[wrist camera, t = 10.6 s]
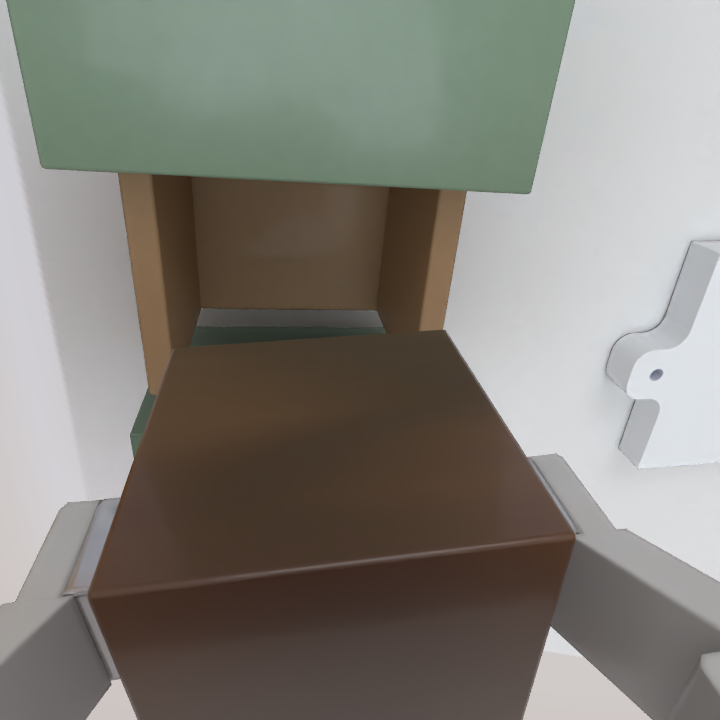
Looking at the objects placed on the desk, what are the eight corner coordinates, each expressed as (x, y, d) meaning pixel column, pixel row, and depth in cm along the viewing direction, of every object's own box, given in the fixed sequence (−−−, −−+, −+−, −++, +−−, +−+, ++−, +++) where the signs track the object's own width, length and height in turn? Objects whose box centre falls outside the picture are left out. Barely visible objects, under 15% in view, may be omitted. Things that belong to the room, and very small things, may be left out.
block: (446, 327, 9) (580, 536, 5) (428, 517, 11) (512, 762, 7) (171, 346, 8) (82, 597, 4) (212, 541, 10) (177, 820, 7)
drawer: (388, 420, 27) (426, 536, 20) (182, 424, 25) (149, 553, 19) (440, 18, 19) (534, -7, 12) (133, -16, 17) (42, -67, 10)
